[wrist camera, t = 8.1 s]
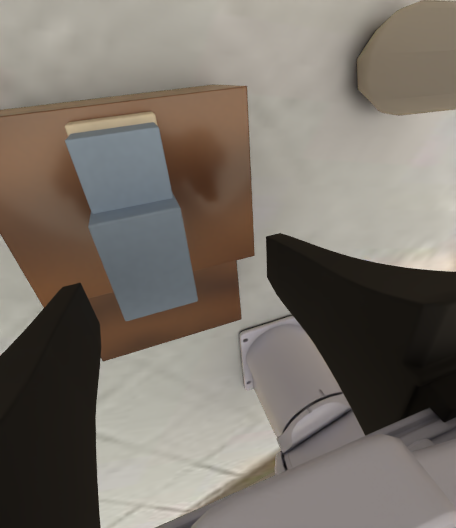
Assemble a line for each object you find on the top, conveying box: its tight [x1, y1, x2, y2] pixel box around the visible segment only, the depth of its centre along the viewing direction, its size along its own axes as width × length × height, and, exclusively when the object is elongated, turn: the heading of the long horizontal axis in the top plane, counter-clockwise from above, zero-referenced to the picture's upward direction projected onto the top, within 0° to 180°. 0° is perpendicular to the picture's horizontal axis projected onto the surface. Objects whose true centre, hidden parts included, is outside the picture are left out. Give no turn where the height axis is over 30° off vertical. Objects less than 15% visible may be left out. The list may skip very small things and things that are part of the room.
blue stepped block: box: [65, 111, 198, 321], centre depth 13 cm, size 8×3×4 cm, turn 5°
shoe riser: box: [0, 85, 254, 361], centre depth 19 cm, size 18×12×6 cm, turn 5°
